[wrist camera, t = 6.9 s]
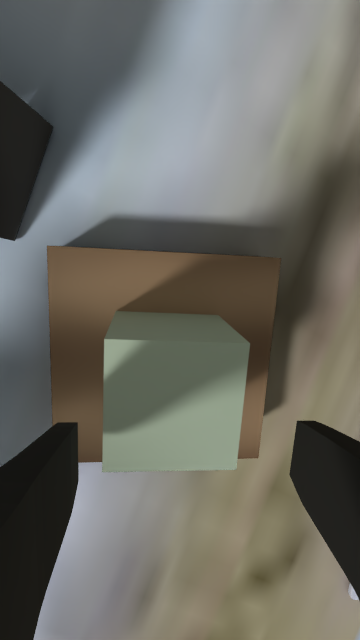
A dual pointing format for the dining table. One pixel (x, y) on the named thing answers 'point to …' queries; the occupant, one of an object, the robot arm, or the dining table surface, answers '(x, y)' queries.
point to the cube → (172, 392)
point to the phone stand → (18, 157)
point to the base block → (159, 297)
